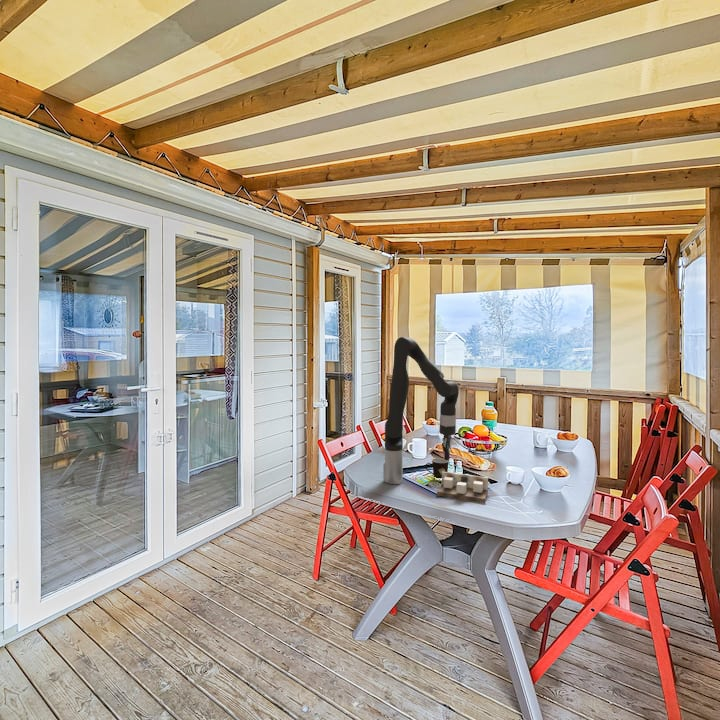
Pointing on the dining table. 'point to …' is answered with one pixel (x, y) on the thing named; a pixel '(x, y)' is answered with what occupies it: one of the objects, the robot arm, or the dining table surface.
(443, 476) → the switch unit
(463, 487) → the switch middle
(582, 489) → the dining table surface
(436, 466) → the coffee mug
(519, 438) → the dining table surface
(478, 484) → the switch right
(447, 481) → the switch left
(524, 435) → the dining table surface
